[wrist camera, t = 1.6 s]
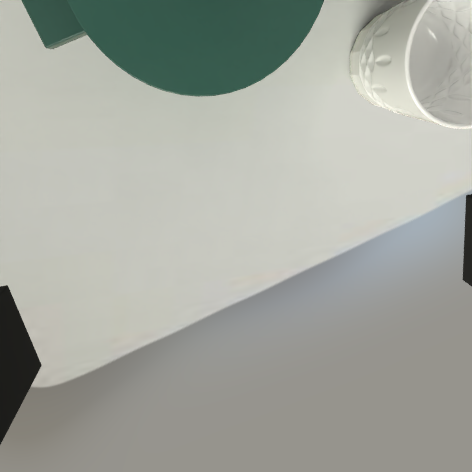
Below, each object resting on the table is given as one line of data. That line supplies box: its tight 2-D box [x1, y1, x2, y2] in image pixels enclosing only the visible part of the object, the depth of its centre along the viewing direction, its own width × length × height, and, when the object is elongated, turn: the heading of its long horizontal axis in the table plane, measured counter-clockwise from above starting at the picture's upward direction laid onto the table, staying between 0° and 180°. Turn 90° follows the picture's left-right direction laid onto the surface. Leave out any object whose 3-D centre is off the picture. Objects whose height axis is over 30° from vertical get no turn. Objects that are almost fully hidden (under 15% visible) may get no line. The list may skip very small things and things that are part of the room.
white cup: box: [350, 0, 472, 129], centre depth 27 cm, size 8×8×10 cm
